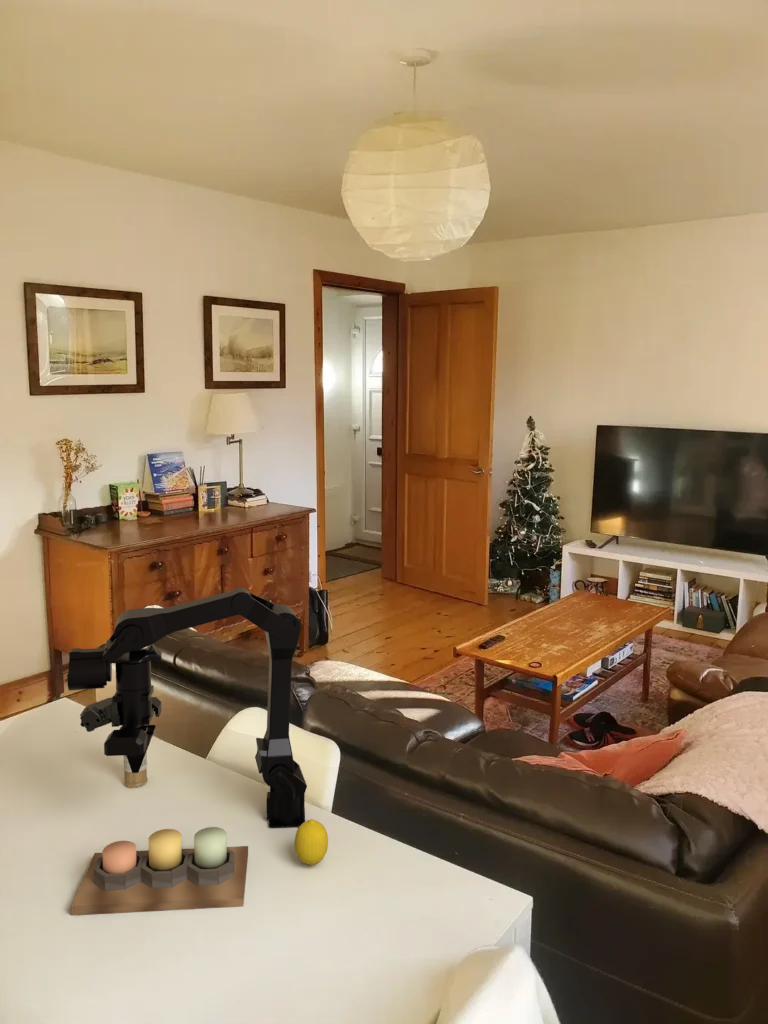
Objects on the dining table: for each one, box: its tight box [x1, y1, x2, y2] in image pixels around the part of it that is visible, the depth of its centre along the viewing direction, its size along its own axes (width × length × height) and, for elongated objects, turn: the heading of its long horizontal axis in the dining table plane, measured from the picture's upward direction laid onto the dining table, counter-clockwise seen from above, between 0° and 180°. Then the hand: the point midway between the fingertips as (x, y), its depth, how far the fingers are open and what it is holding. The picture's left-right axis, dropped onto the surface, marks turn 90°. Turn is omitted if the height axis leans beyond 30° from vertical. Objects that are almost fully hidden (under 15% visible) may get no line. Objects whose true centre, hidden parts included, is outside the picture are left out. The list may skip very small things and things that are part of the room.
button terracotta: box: [102, 840, 137, 874], centre depth 124 cm, size 5×5×4 cm
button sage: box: [193, 826, 228, 868], centre depth 125 cm, size 5×5×4 cm
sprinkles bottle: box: [123, 750, 148, 788], centre depth 157 cm, size 5×5×13 cm
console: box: [71, 845, 249, 916], centre depth 125 cm, size 25×14×4 cm, turn 97°
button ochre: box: [148, 828, 183, 870], centre depth 125 cm, size 5×5×4 cm
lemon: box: [294, 818, 329, 867], centre depth 130 cm, size 6×6×8 cm
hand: (135, 771), depth 137 cm, fingers closed
